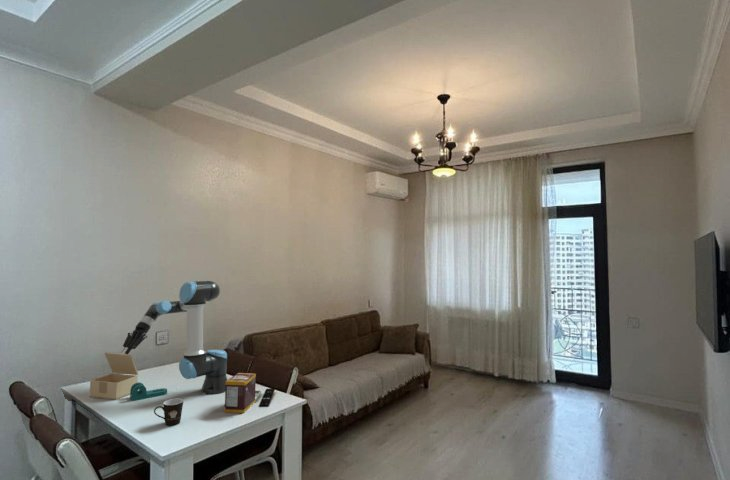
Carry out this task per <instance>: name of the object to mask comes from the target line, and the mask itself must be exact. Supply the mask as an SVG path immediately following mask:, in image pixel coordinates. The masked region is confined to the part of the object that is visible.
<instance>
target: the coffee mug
mask: <svg viewBox="0 0 730 480" xmlns="http://www.w3.org/2000/svg"><path fill="white" fill-rule="evenodd" d="M183 407H184V398H183V399H182V398H170V399H167V400H165V401H163V406H162V405H161V406H160V405H159V406H156V407H155V408H154V410H153V414H154V415H155V416H157V417H158V418H159V419H160V418H161V419H163V420H164V425H165V426H166V427H174V426H178V425H179V424H181V419H182V413H183ZM157 409H162V411H163V415H164V416H161V415H159V414H158V413H156V411H157Z"/></svg>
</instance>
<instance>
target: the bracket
mask: <svg viewBox="0 0 730 480" xmlns="http://www.w3.org/2000/svg"><path fill="white" fill-rule="evenodd" d="M166 395H168V388H165V387H164V388H162V387H161V388H156V389H150V390H147V387H146V386H145V385H144V383H142V382H138V381H137V383H135V384H133V385H132V387H131V389H130V396H129V399H130V400H131V402H136V401H140V400H145V399H152V398H157V397H162V396H166Z"/></svg>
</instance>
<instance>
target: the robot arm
mask: <svg viewBox="0 0 730 480" xmlns="http://www.w3.org/2000/svg"><path fill="white" fill-rule="evenodd" d="M220 293H221V288H220V286H219V285H218V284H217V283H216V282H215V281H212V280H201V281H197V280H196V281H187V282H184V283H183V284H182V286H181V287H180V289H179V294H178V295H179V296H178V298H179V300H176V301H174V300H173V301H168V300H162V301H160V302H153V303H152V304H151V305H150V306H149V307H148V309H147V310H146V312H145V314H144V315H143V316H142V317H141V319H140V320H139V322H138V323H137V324H136V325H135V329H134V330H133V331H132V332H128V333H127V336H126V338H125V340H124V343H123V344H122V347H123V350H122V351H121V353H120V354H128V355H129V353H130V352H131V351H132V350H136V348H137V347H138V346H139V345H141V343H142V342H143V341H144V340H145V339H147V338H148V335H147V333H148V332H149V331H150V329H151V327H152V326H153V325H154V323H155V322H156V321H157V319H158V318H159V317H160V316H163V315H169V314H170V315H171V314H176V313H177V314H178V313H186V350H185V352H184V354H183V358H181V359H180V360H179V362H178V368H179V369H178V370H179V372H180V375H181V376H182V377H183V378H184V379H185V380H190V379H191V380H192V379H196V378H199V377H204V376H205V377H204V381H203V382H202V383H203V384H202V385H201V392H202V393H203V394H207V395H211V394H212V395H213V394H214V395H215V394H220V393H221V394H222V393H225V384H226V381H227V380H228V376H227V366H228V365H227V364H228V353H227V352H226V351H225V350H224V349H222V350H221V349H208V350H206V351H205V350H204V308H205V306H206V305H207V302H212V301H213V300H216V299H217V298H218V297H219V296H220Z"/></svg>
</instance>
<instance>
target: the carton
mask: <svg viewBox="0 0 730 480" xmlns="http://www.w3.org/2000/svg"><path fill="white" fill-rule="evenodd" d="M89 381H90V382H89V397H90V398H95V397H96V398H97V399H104V400H105V399H106V400H112V401H114V400H115V401H118V400H120V399H122V398H124V397H127V396H129V395H130V389H131V387H132V385H133V384H135V383H138V375H132V374H122V373H113V372H112V373H109V374H105V375H103V376H99V377H97V378H94V379H90V380H89Z"/></svg>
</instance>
